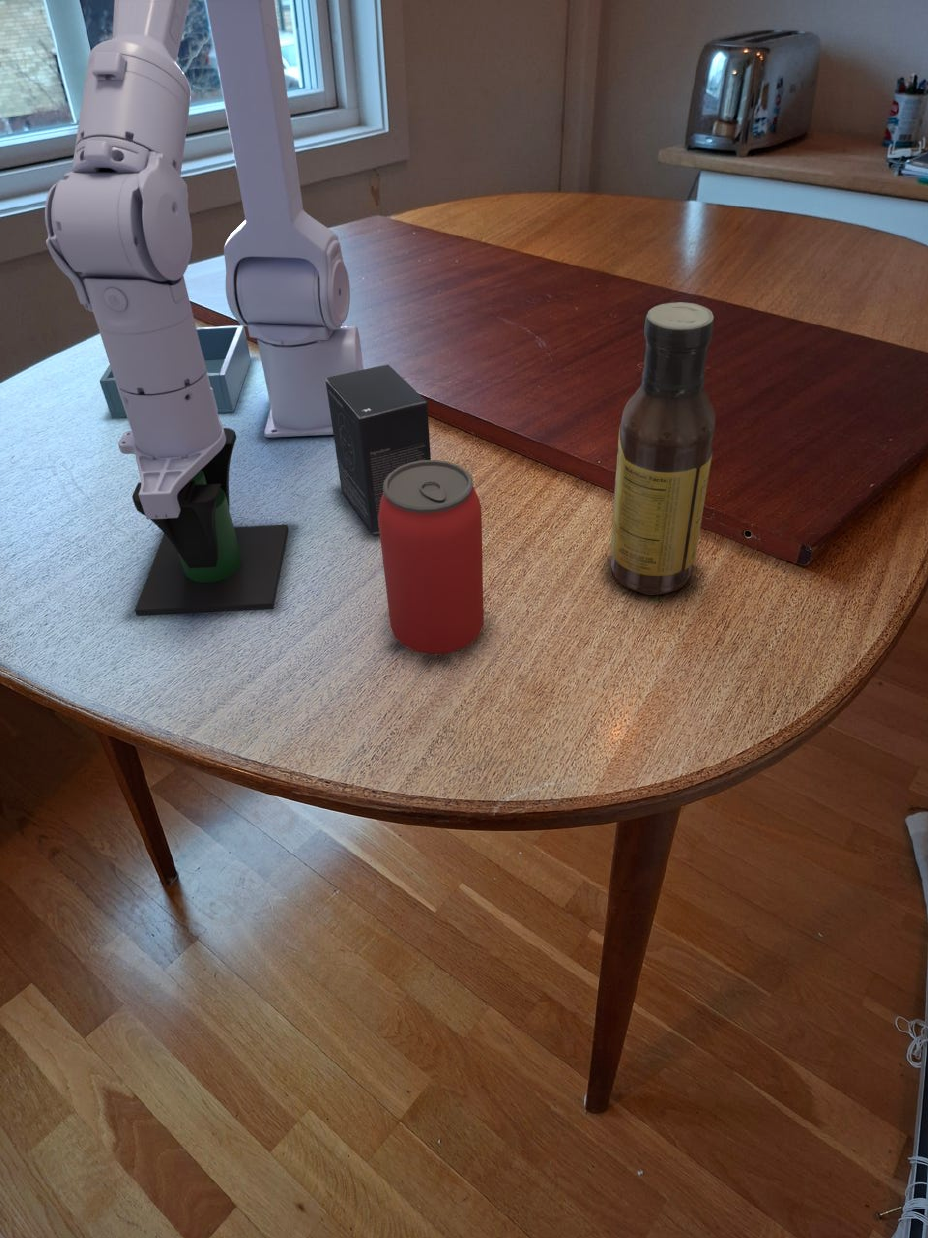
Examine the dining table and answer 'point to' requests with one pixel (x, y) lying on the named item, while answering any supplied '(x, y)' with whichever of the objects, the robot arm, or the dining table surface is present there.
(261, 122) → the robot arm
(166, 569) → the mat
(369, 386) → the box
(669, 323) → the sauce bottle
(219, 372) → the case
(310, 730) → the dining table surface
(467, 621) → the beer can
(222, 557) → the bottle
